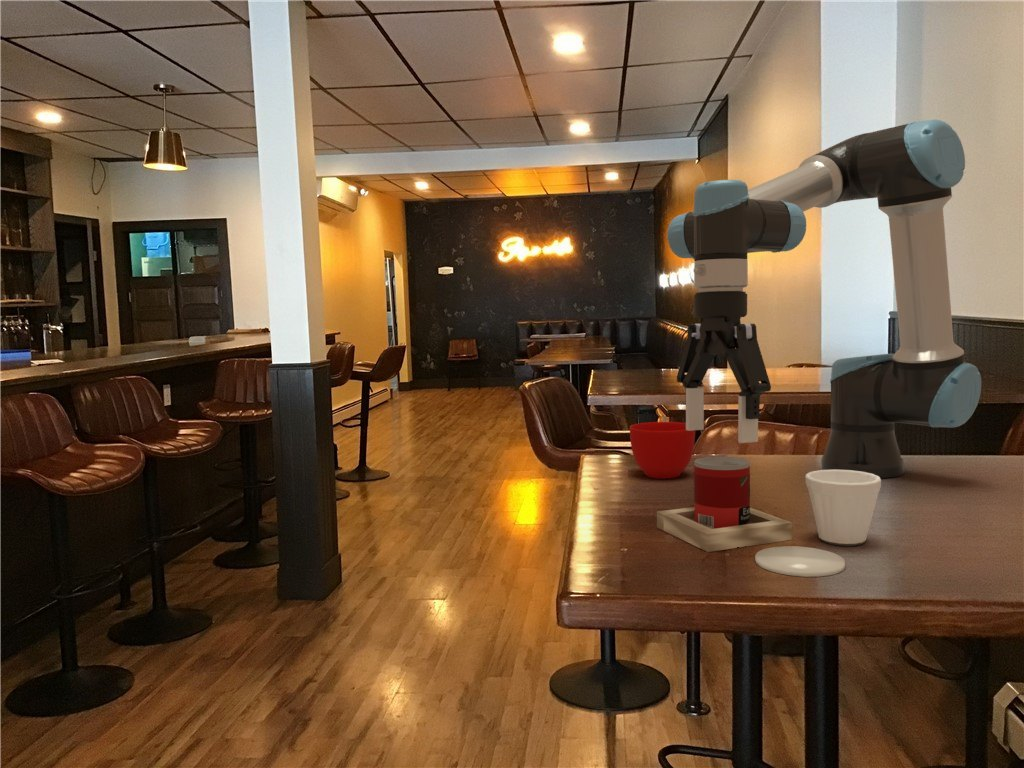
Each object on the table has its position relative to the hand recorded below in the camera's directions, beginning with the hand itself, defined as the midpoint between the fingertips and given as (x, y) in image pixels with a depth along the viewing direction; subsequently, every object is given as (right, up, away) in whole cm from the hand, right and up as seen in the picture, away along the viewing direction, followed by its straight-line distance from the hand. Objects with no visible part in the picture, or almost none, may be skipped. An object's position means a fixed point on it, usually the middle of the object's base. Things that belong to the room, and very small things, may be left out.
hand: (720, 436), depth 119 cm
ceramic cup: (+1, -11, +46) cm, 47 cm away
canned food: (+1, -15, +2) cm, 15 cm away
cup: (+16, -15, -4) cm, 22 cm away
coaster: (+7, -16, -13) cm, 22 cm away
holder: (+1, -15, +2) cm, 15 cm away
